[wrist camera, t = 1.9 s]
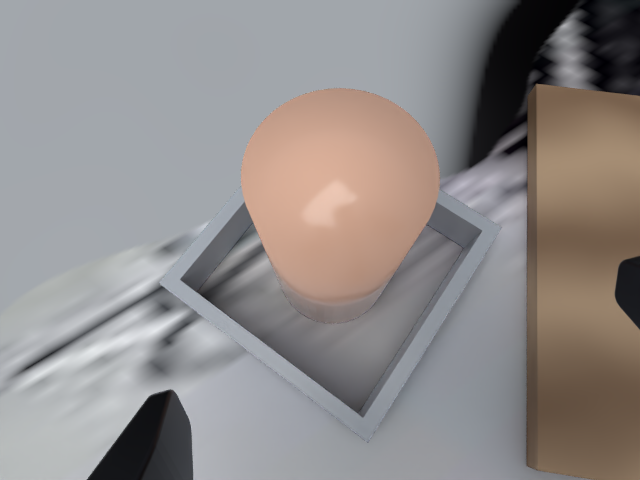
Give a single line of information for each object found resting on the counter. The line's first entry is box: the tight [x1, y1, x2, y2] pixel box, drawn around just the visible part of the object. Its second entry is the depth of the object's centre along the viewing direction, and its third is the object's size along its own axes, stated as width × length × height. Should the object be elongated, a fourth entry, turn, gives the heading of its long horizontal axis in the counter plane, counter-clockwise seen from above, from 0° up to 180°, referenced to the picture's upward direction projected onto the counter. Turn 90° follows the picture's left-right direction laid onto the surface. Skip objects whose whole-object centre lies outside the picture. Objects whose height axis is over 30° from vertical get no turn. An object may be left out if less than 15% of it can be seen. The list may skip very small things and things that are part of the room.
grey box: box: [159, 185, 502, 443], centre depth 19 cm, size 10×10×2 cm
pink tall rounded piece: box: [241, 88, 440, 324], centre depth 16 cm, size 5×5×10 cm
